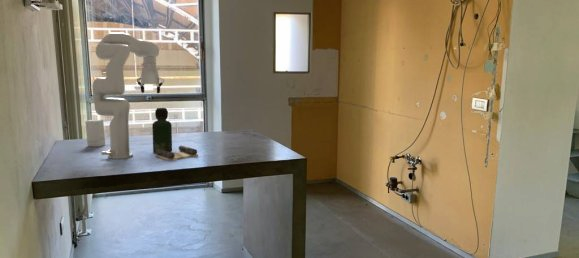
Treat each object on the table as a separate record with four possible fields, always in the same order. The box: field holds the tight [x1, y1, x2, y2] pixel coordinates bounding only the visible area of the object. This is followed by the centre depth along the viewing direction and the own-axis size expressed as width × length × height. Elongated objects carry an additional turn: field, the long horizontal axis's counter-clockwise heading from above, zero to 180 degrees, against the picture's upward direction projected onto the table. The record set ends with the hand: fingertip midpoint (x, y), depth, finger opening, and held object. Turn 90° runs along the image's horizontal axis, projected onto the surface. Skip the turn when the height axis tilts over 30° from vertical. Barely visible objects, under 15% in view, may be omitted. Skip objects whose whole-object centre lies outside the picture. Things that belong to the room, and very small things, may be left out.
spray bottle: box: [151, 107, 173, 154], centre depth 247 cm, size 10×10×25 cm
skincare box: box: [84, 119, 106, 148], centre depth 261 cm, size 8×7×16 cm
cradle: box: [154, 145, 199, 162], centre depth 238 cm, size 18×14×4 cm
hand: (150, 92), depth 274 cm, fingers open, 9 cm apart
